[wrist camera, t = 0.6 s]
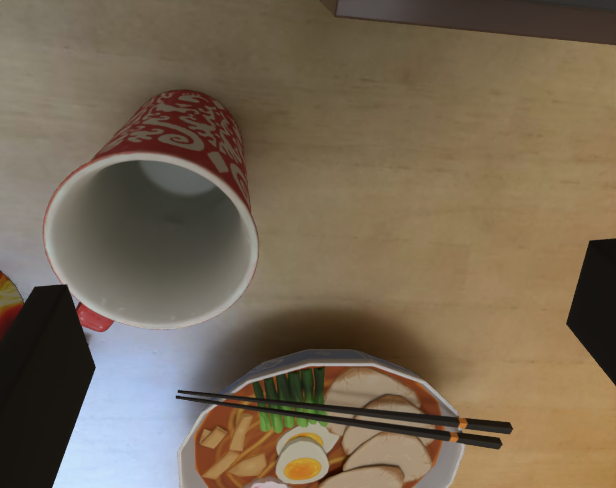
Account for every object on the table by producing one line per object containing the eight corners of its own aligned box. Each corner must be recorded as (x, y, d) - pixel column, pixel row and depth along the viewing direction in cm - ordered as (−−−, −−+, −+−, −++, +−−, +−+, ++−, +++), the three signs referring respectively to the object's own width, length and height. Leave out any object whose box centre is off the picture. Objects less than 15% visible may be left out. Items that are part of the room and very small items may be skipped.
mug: (166, 39, 31) (113, 105, 19) (284, 133, 34) (300, 236, 23) (61, 191, 35) (-34, 320, 23) (176, 260, 39) (143, 401, 27)
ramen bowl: (155, 462, 50) (139, 548, 43) (201, 268, 39) (189, 342, 32) (394, 487, 55) (414, 567, 48) (491, 325, 45) (535, 398, 38)
